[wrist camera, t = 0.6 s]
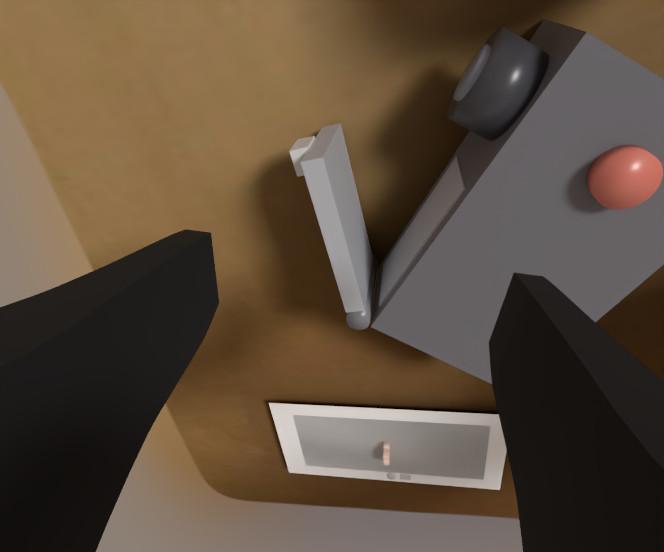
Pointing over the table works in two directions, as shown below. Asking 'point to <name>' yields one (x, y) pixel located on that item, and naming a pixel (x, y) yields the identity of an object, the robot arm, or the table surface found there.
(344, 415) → the touchpad
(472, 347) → the camera body
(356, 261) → the door
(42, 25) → the table surface
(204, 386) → the table surface
